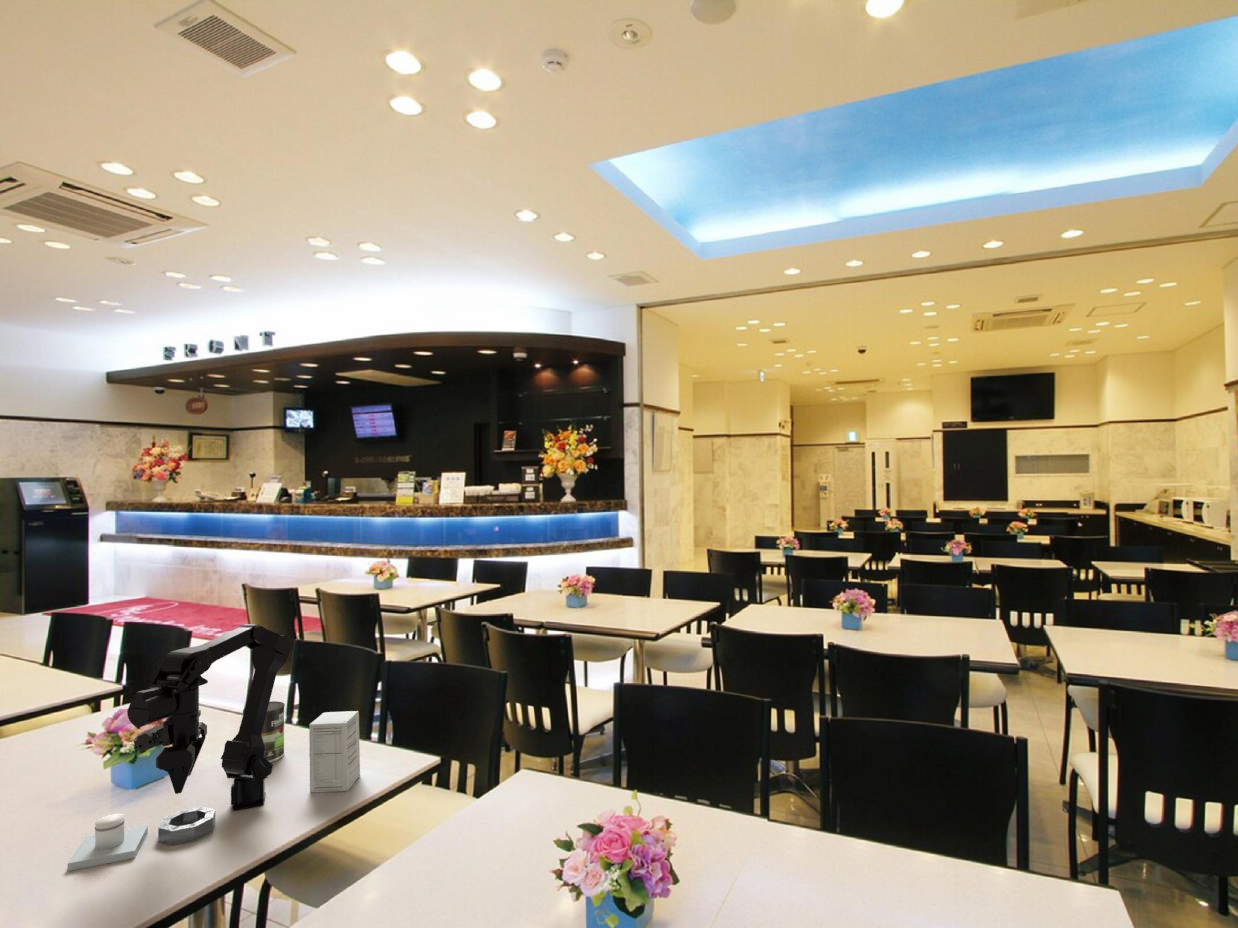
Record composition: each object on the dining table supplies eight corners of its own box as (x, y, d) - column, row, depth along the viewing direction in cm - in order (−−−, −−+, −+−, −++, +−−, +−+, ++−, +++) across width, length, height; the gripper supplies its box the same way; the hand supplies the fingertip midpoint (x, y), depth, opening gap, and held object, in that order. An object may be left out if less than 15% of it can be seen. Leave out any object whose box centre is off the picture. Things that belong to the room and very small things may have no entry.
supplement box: (361, 775, 175) (360, 710, 176) (347, 791, 166) (347, 722, 167) (323, 776, 175) (323, 711, 175) (308, 792, 166) (308, 723, 166)
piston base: (147, 832, 147) (147, 802, 148) (134, 857, 137) (134, 825, 138) (85, 844, 143) (85, 813, 143) (67, 870, 133) (67, 837, 133)
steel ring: (217, 817, 154) (217, 803, 154) (210, 837, 145) (210, 823, 145) (165, 826, 150) (165, 812, 150) (155, 848, 141) (155, 833, 141)
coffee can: (291, 750, 193) (291, 700, 194) (272, 765, 183) (272, 712, 183) (255, 750, 193) (255, 700, 194) (234, 765, 183) (234, 713, 183)
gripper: (149, 702, 150) (149, 773, 150) (125, 730, 133) (125, 811, 132) (207, 696, 154) (207, 765, 154) (191, 722, 137) (191, 799, 137)
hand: (183, 784), depth 144 cm, fingers open, 9 cm apart
